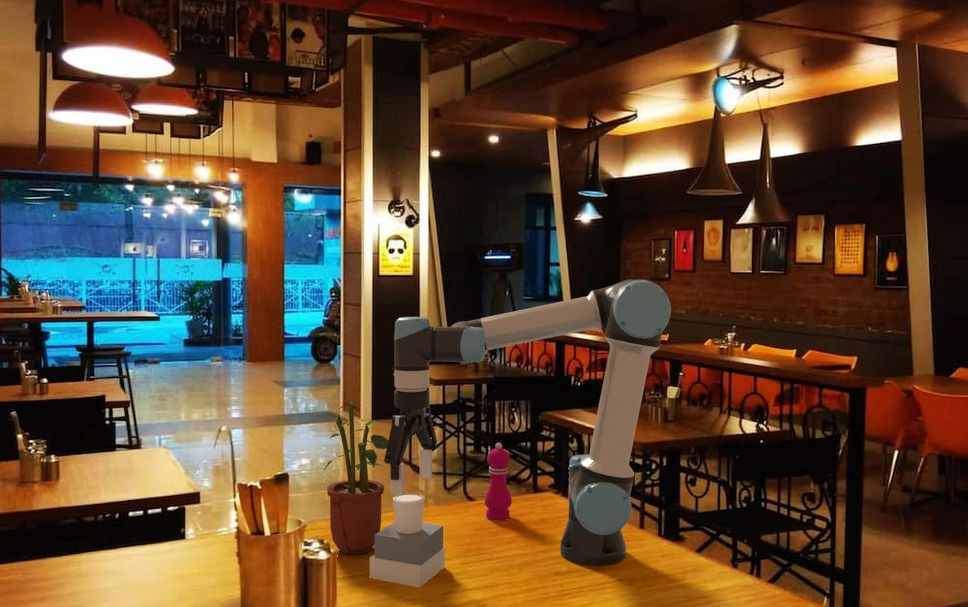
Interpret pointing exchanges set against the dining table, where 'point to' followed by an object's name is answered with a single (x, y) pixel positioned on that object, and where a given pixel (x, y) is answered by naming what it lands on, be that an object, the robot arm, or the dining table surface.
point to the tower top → (409, 544)
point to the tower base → (407, 570)
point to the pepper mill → (498, 485)
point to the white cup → (408, 513)
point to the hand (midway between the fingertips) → (411, 486)
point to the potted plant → (356, 494)
